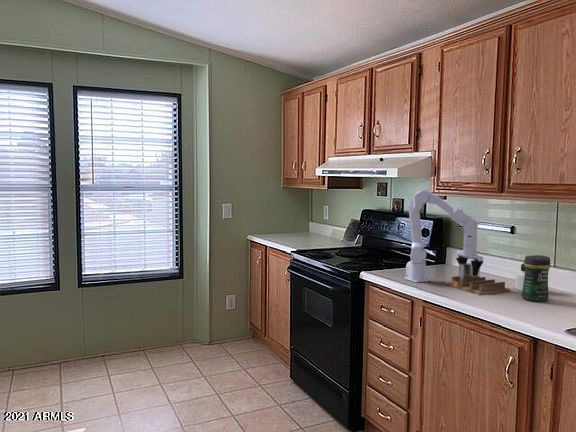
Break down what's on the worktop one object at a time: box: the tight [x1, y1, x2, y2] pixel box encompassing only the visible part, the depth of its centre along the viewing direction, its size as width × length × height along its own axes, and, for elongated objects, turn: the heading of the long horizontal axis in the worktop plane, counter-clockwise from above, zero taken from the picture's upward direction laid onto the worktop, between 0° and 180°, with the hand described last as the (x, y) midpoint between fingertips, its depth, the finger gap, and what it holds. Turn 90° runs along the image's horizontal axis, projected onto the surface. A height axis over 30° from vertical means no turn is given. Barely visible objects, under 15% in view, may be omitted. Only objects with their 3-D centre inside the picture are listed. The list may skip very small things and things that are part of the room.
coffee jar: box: [521, 254, 551, 303], centre depth 200 cm, size 10×8×19 cm
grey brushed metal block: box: [458, 262, 481, 284], centre depth 225 cm, size 3×10×9 cm, turn 113°
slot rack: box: [446, 276, 511, 295], centre depth 220 cm, size 20×18×4 cm
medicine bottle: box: [514, 262, 525, 292], centre depth 217 cm, size 7×7×12 cm
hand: (468, 274), depth 225 cm, fingers open, 7 cm apart
